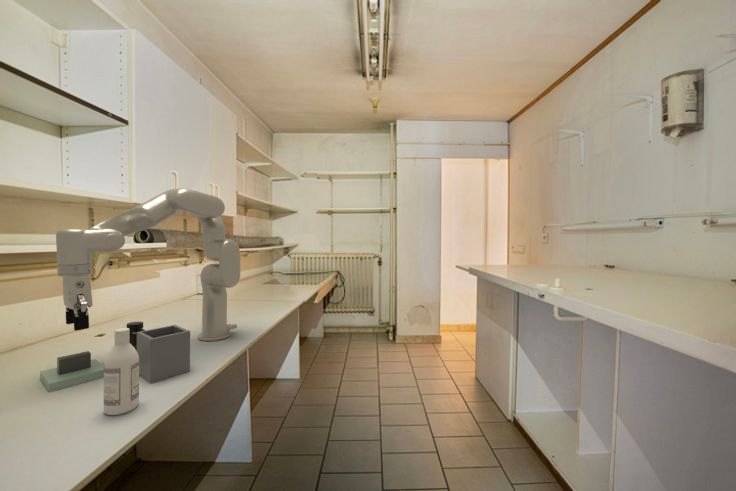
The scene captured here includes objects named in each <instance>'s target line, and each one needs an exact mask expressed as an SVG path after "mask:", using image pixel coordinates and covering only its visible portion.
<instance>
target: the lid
mask: <svg viewBox="0 0 736 491" xmlns="http://www.w3.org/2000/svg"><path fill="white" fill-rule="evenodd" d="M91 356H92V352H91V351H89V350H87V351H82V352H78V353H73V354H69V355H64V356H63V355H62V356H59V357H57V358H56V367H53V368H49V369H48V368H47V369H44V370H40V371H39V375H40V376H39V380H40V381H41V383H42V384H43V386H44V387H45V388H46V389H47V391H48V393H51V392H55V391H58V390H62V389H66V388H69V387H73V386H77V385H80V384H83V383H88V382H92V381H96V380H98V379H104V364H102V363H101V362H100V361H99V360H98V359H96V358H92V357H91Z"/></svg>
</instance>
